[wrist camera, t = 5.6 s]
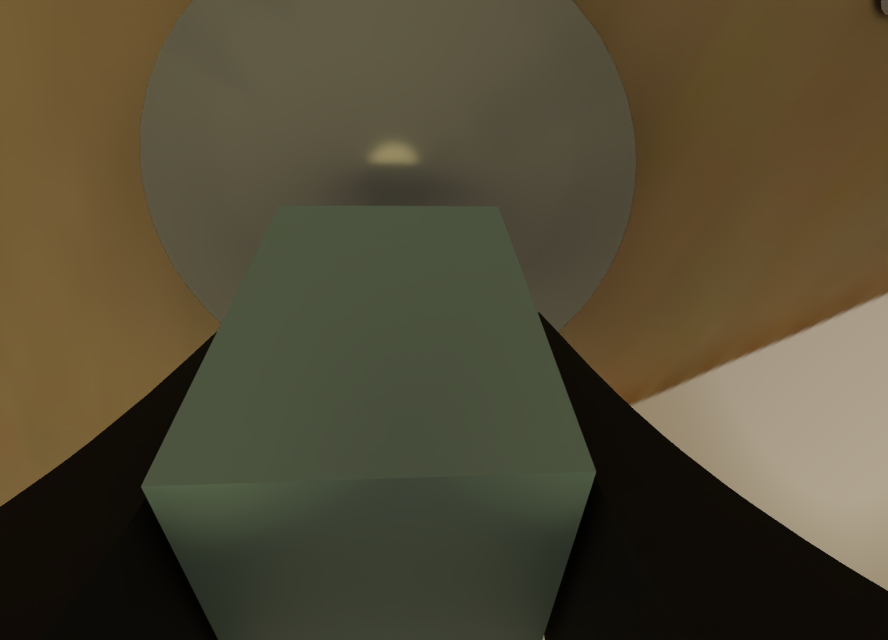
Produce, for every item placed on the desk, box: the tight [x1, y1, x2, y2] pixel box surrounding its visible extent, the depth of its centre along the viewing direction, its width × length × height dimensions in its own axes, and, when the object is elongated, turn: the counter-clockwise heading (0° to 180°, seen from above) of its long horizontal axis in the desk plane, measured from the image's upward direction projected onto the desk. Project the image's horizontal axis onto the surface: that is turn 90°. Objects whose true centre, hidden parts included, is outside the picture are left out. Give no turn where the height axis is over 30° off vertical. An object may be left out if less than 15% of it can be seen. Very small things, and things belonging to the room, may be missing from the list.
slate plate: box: [140, 0, 636, 332], centre depth 15 cm, size 13×13×2 cm
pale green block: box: [141, 205, 596, 640], centre depth 8 cm, size 4×4×6 cm
